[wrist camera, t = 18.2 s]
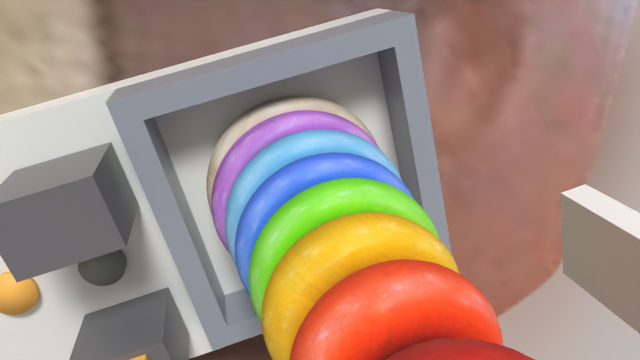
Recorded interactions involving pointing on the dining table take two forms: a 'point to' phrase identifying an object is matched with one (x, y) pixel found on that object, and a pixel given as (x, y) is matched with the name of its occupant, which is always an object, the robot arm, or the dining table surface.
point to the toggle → (65, 212)
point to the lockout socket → (249, 72)
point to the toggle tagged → (134, 331)
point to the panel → (146, 237)
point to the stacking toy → (339, 243)
